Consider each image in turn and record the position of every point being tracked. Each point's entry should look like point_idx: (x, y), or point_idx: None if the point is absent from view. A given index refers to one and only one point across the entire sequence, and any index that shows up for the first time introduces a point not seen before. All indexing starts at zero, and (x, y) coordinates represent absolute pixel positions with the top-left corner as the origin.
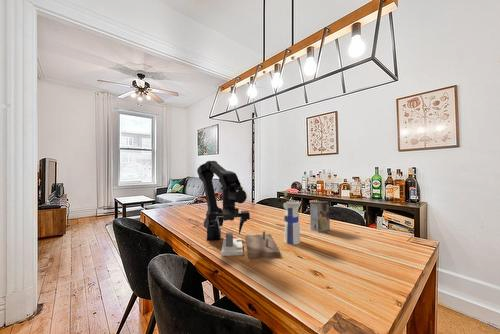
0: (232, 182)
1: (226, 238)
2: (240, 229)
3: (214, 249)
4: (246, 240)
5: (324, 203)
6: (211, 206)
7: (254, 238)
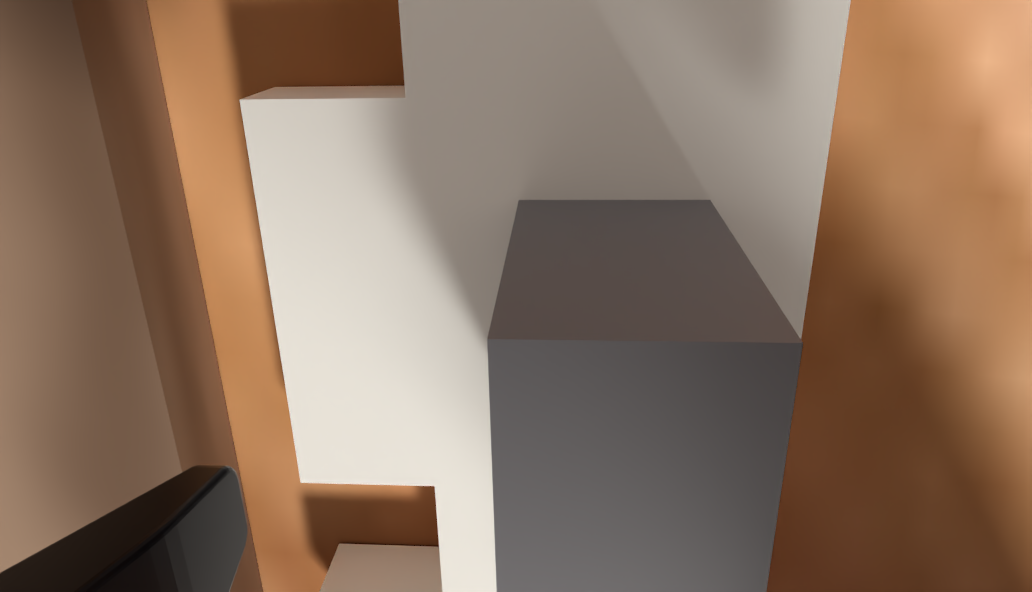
0: None
1: (746, 287)
2: (22, 585)
3: (991, 243)
4: None
5: None
6: None
7: None
